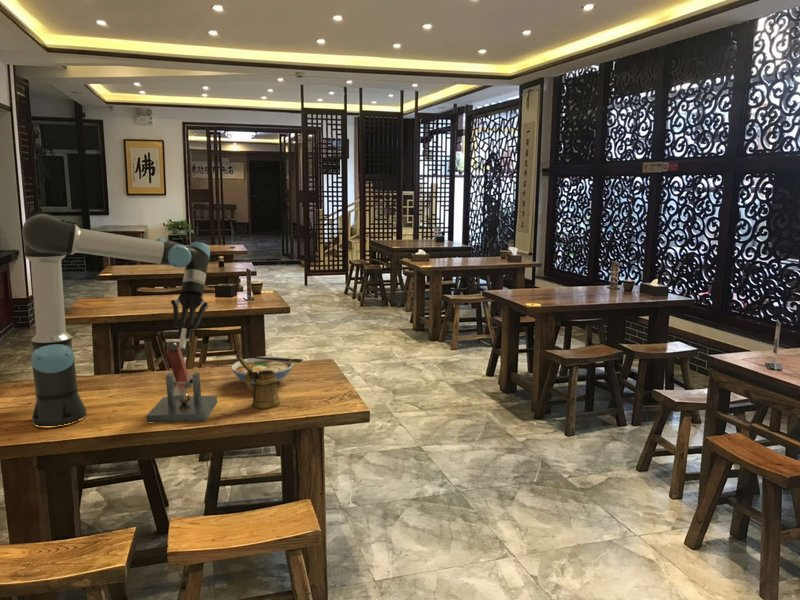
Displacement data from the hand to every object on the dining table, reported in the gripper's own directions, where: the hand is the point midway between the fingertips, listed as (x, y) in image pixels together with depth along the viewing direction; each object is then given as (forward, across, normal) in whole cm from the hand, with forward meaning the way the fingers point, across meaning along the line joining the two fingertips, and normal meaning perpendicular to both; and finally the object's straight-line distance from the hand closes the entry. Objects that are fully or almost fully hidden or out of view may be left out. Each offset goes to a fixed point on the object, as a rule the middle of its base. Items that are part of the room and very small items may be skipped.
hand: (181, 347), depth 212 cm
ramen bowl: (+6, -26, -22) cm, 34 cm away
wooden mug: (+18, -29, -2) cm, 34 cm away
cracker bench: (+23, -5, +2) cm, 23 cm away
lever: (+16, -4, +5) cm, 17 cm away
